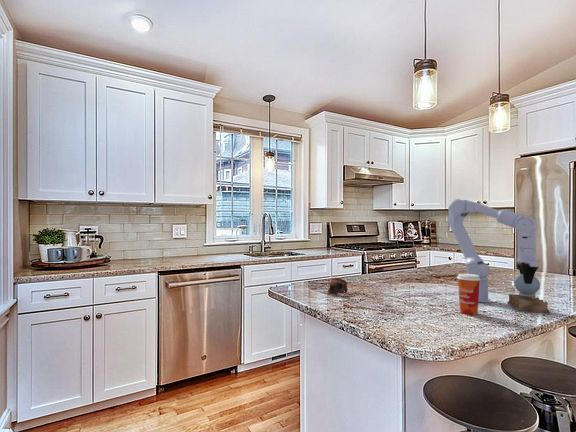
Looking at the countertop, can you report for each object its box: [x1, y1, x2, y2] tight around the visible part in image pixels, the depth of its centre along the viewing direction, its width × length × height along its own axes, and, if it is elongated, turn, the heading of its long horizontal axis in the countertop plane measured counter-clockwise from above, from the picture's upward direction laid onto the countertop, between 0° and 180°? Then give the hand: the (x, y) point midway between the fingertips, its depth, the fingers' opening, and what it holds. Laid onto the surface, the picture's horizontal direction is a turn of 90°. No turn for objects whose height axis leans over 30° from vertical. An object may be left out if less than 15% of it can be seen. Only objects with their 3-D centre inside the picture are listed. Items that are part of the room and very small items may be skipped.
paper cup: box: [456, 273, 481, 316], centre depth 122 cm, size 8×8×14 cm
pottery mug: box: [327, 277, 348, 296], centre depth 154 cm, size 12×10×8 cm
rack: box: [507, 293, 550, 314], centre depth 128 cm, size 10×12×4 cm
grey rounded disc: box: [513, 273, 541, 297], centre depth 129 cm, size 8×2×8 cm, turn 72°
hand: (527, 283), depth 129 cm, fingers closed on grey rounded disc, 2 cm apart
